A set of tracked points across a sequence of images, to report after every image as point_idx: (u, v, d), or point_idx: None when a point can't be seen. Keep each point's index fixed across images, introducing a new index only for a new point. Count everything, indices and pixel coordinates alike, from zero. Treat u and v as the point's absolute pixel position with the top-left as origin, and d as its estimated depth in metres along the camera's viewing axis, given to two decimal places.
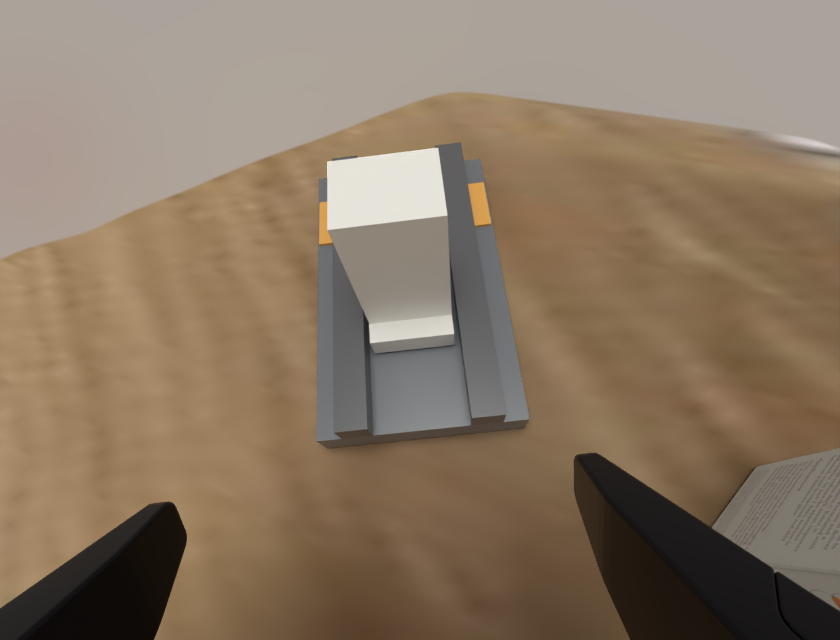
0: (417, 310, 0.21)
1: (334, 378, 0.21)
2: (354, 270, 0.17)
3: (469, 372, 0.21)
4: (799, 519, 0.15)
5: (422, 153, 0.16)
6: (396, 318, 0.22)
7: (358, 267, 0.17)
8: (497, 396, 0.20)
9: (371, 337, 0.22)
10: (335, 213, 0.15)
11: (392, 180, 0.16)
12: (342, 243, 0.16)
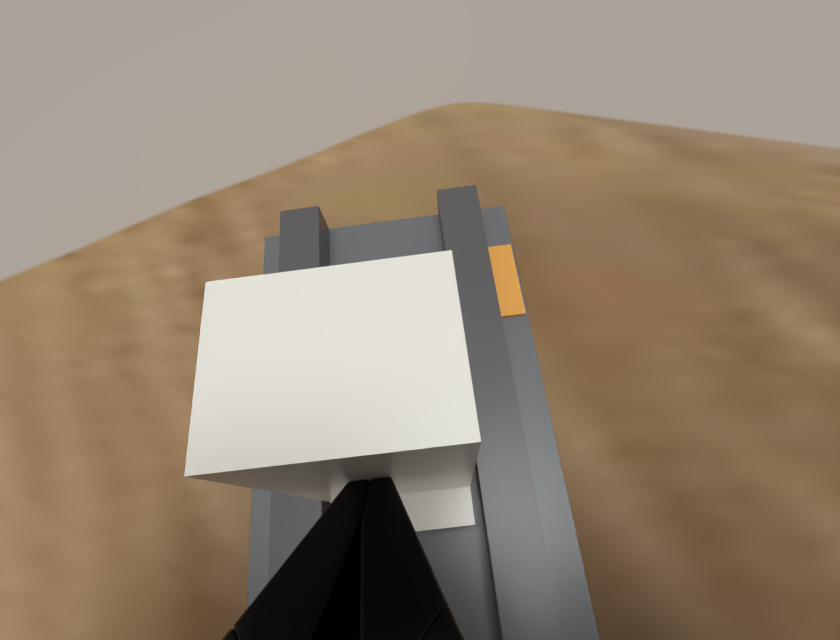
0: (412, 490, 0.12)
1: None
2: (280, 488, 0.09)
3: (506, 616, 0.12)
4: None
5: (416, 264, 0.07)
6: None
7: (287, 485, 0.08)
8: None
9: None
10: (208, 426, 0.06)
11: (346, 335, 0.07)
12: (235, 479, 0.07)
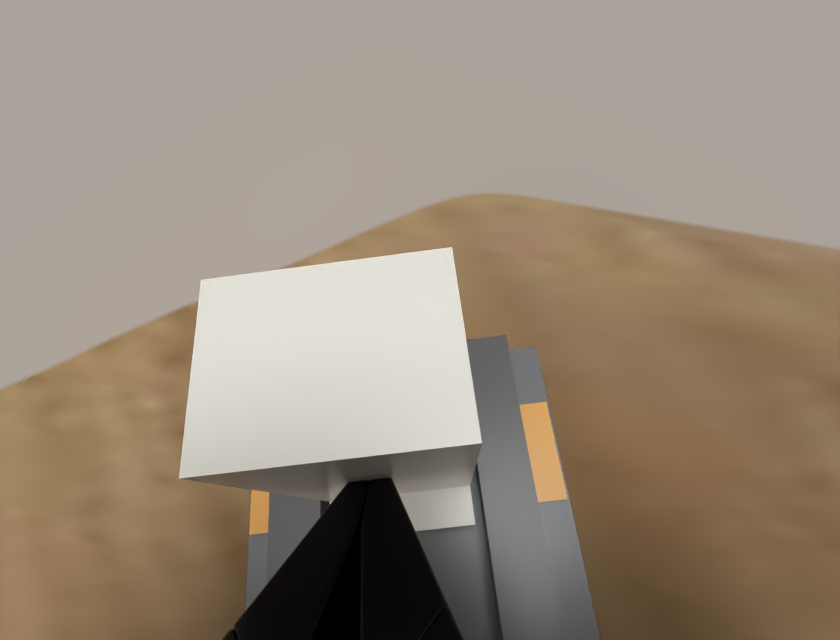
0: (411, 490, 0.12)
1: None
2: (278, 488, 0.08)
3: None
4: None
5: (416, 261, 0.07)
6: None
7: (285, 486, 0.08)
8: None
9: None
10: (203, 427, 0.06)
11: (345, 334, 0.07)
12: (232, 480, 0.07)
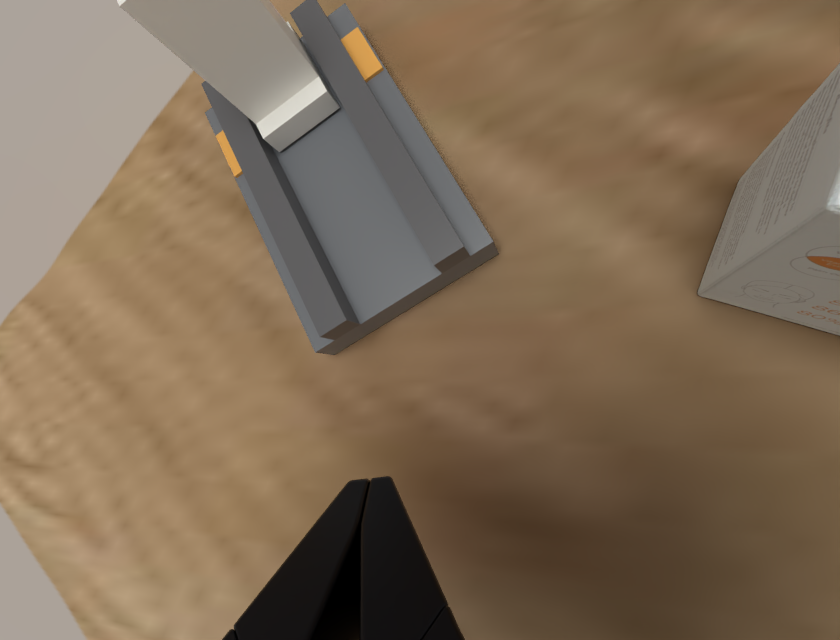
0: (284, 85, 0.22)
1: (299, 290, 0.21)
2: (186, 53, 0.18)
3: (414, 224, 0.20)
4: (767, 203, 0.14)
5: None
6: (273, 104, 0.23)
7: (185, 46, 0.18)
8: (449, 233, 0.19)
9: (262, 133, 0.23)
10: None
11: None
12: (146, 18, 0.17)
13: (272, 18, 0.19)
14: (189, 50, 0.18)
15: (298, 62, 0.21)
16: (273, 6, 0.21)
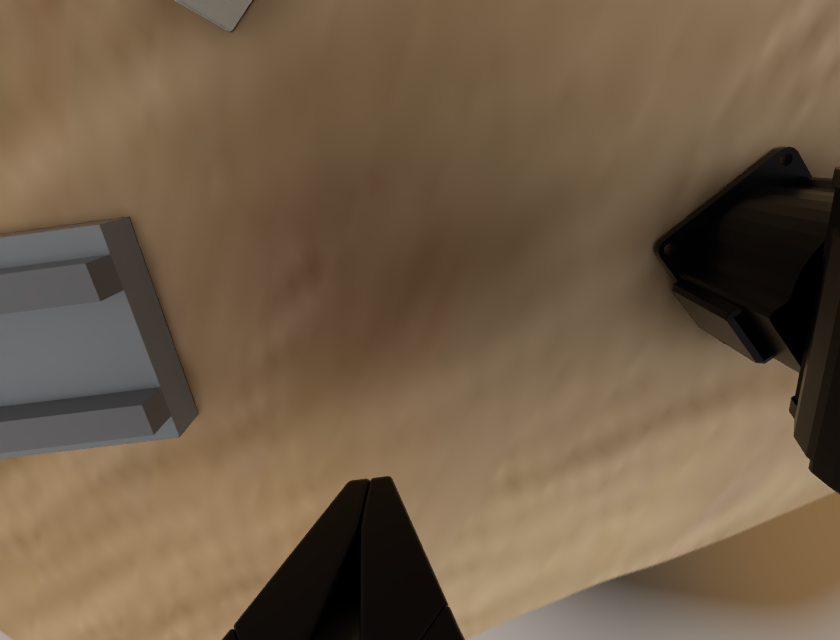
0: None
1: (97, 440, 0.20)
2: None
3: (45, 304, 0.17)
4: None
5: None
6: None
7: None
8: (66, 272, 0.17)
9: None
10: None
11: None
12: None
13: None
14: None
15: None
16: None
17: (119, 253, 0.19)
